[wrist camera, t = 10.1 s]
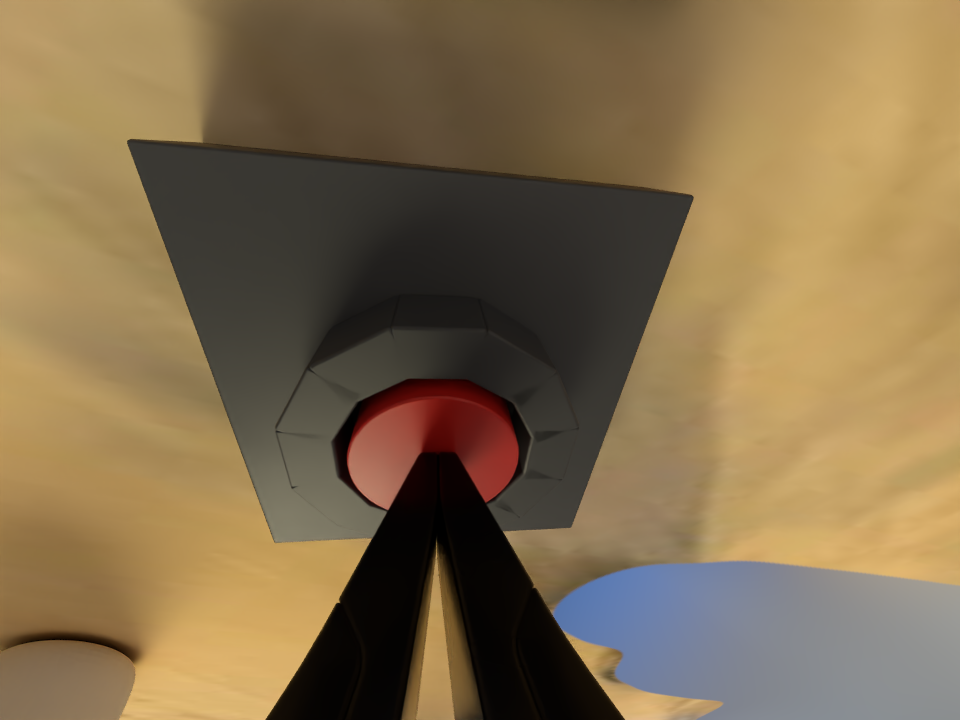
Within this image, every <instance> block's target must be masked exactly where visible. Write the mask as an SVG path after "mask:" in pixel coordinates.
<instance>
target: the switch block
mask: <svg viewBox="0 0 960 720" xmlns="http://www.w3.org/2000/svg"><path fill="white" fill-rule="evenodd" d="M127 144H128V146H129V149H130V152H131V155H132V157H133V160H134V163H135V165H136V168H137V171H138V174H139V176H140V179H141V182H142V184H143V187H144V190H145V193H146V195H147V198H148V201H149V203H150V206H151V209H152V211H153V214H154V217H155V220H156V222H157V225H158V228H159V230H160V233H161V236H162V239H163V241H164V244H165V247H166V249H167V252H168V255H169V258H170V260H171V263H172V266H173V268H174V271H175V274H176V277H177V279H178V282H179V285H180V287H181V290H182V293H183V296H184V298H185V301H186V304H187V306H188V309H189V312H190V315H191V317H192V320H193V323H194V325H195V328H196V331H197V334H198V336H199V339H200V342H201V344H202V347H203V350H204V353H205V355H206V358H207V361H208V363H209V366H210V369H211V372H212V374H213V377H214V380H215V382H216V385H217V388H218V391H219V393H220V396H221V399H222V401H223V404H224V407H225V410H226V412H227V415H228V418H229V420H230V423H231V426H232V428H233V431H234V434H235V437H236V439H237V442H238V445H239V447H240V450H241V453H242V456H243V458H244V461H245V464H246V466H247V469H248V472H249V475H250V477H251V480H252V483H253V485H254V488H255V491H256V494H257V496H258V499H259V502H260V504H261V507H262V510H263V513H264V515H265V518H266V521H267V523H268V526H269V529H270V532H271V534H272V537H273V540H274V542H275V543H282V542H301V541H321V540H340V539H360V538H373V536H374V534H375V533H376V531H377V529H378V527H379V525H380V524H381V522H382V520H383V518H384V516H385V515H386V513H387V511H388V510H387V509H385V508H382V507H380V506H378V505H377V504H375V503H373V502H372V501H370V500H369V499H368V498H367V497H365V496H364V495H363V494H362V493H361V492H360V491H359V490H358V489H357V487H356V486H355V484H354V483H353V481H352V479H351V476H350V474H349V470H348V466H347V452H348V447H349V443H350V440H351V437H352V433H353V430H354V427H355V423H356V420H357V417H358V413H359V410H360V407H361V403H362V400H363V399H366V398H368V397H370V396H372V395H374V394H376V393H379V392H381V391H383V390H385V389H387V388H389V387H392V386H394V385H396V384H398V383H400V382H402V381H405V380H407V379H467V380H469V381H471V382H473V383H475V384H477V385H479V386H481V387H483V388H485V389H486V390H488V391H490V392H492V393H494V394H496V395H498V396H500V397H502V398H504V399H506V403H507V406H508V410H509V413H510V417H511V420H512V424H513V427H514V431H515V434H516V438H517V442H518V446H519V458H518V464H517V467H516V470H515V472H514V475H513V477H512V478H511V480H510V481H509V483H508V484H507V485H506V486H505V488H504V489H503V490H502V491H501V492H500V493H498V494H497V495H496V496H495V497H493V498H492V499H491V500H489V501H488V502H486V504H487V506H488V507H489V509H490V511H491V512H492V514H493V516H494V517H495V519H496V521H497V523H498V524H499V526H500V528H501V529H502V531H517V530H536V529H556V528H571V526H572V524H573V521H574V518H575V516H576V513H577V510H578V508H579V505H580V502H581V500H582V497H583V494H584V492H585V489H586V486H587V483H588V481H589V478H590V475H591V473H592V470H593V467H594V465H595V462H596V459H597V457H598V454H599V451H600V449H601V446H602V443H603V441H604V438H605V435H606V432H607V430H608V427H609V424H610V422H611V419H612V416H613V414H614V411H615V408H616V406H617V403H618V400H619V398H620V395H621V392H622V389H623V387H624V384H625V381H626V379H627V376H628V373H629V371H630V368H631V365H632V363H633V360H634V357H635V355H636V352H637V349H638V346H639V344H640V341H641V338H642V336H643V333H644V330H645V328H646V325H647V322H648V320H649V317H650V314H651V312H652V309H653V306H654V303H655V301H656V298H657V295H658V293H659V290H660V287H661V285H662V282H663V279H664V277H665V274H666V271H667V269H668V266H669V263H670V260H671V258H672V255H673V252H674V250H675V247H676V244H677V242H678V239H679V236H680V234H681V231H682V228H683V226H684V223H685V220H686V217H687V215H688V212H689V209H690V207H691V204H692V201H693V198H694V197H693V196H692V195H689V194H683V193H676V192H670V191H664V190H657V189H651V188H644V187H635V186H625V185H615V184H605V183H596V182H586V181H576V180H566V179H556V178H546V177H536V176H526V175H516V174H506V173H496V172H486V171H476V170H466V169H456V168H447V167H437V166H427V165H417V164H407V163H397V162H387V161H377V160H367V159H357V158H347V157H337V156H327V155H317V154H308V153H298V152H288V151H278V150H268V149H258V148H248V147H238V146H228V145H218V144H208V143H196V142H177V141H158V140H139V139H130V140H128V141H127ZM436 541H437V539H436Z"/></svg>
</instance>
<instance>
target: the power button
mask: <svg viewBox="0 0 960 720" xmlns="http://www.w3.org/2000/svg"><path fill="white" fill-rule="evenodd" d="M422 452H436V453H437V454H439V453H440V452H455V453H457V455H458V456H459V458H460V460H461V461H462V463H463V465H464V466H465V468H466V470H467V472H468V473H469V475H470V477H471V478H472V480H473V482H474V483H475V485H476V487H477V489H478V490H479V492H480V494H481V495H482V497H483V499H484V500H485V502H488V501H489V500H491V499H492V498H493V497H495V496H496V495H497V494H498V493H500V492H501V491H502V490H503V489H504V488H505V486H506V485H507V484H508V483H509V481H510V480H511V478H512V477H513V475H514V472H515V470H516V467H517V464H518V458H519V446H518V442H517V438H516V434H515V431H514V427H513V424H512V420H511V417H510V413H509V410H508V406H507V403H506V399H504V398H502V397H500V396H498V395H496V394H494V393H492V392H490V391H488V390H486V389H485V388H483V387H481V386H479V385H477V384H475V383H473V382H471V381H469V380H467V379H407V380H405V381H402V382H400V383H398V384H396V385H394V386H392V387H389V388H387V389H385V390H383V391H381V392H379V393H376V394H374V395H372V396H370V397H368V398H366V399H363V400H362V403H361V407H360V410H359V413H358V417H357V420H356V423H355V427H354V430H353V433H352V437H351V440H350V443H349V447H348V452H347V466H348V470H349V474H350V476H351V479H352V481H353V483H354V484H355V486H356V487H357V489H358V490H359V491H360V492H361V493H362V494H363V495H364V496H365V497H367V498H368V499H369V500H370V501H372V502H373V503H375V504H377V505H378V506H380V507H382V508H385V509H387V510H388V509H389V507H390V505H391V504H392V502H393V500H394V498H395V496H396V495H397V493H398V491H399V489H400V487H401V486H402V484H403V482H404V480H405V478H406V477H407V475H408V473H409V471H410V469H411V467H412V466H413V464H414V462H415V460H416V458H417V457H418V455H419V454H420V453H422Z"/></svg>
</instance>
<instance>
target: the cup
mask: <svg viewBox="0 0 960 720" xmlns="http://www.w3.org/2000/svg"><path fill="white" fill-rule="evenodd" d="M134 680H135V667H134V665H133V663H132V661H131V660H130V659H129V658H128V657H127V656H125V655H124V654H123V653H121V652H119V651H117V650H115V649H112V648H109V647H106V646H103V645H99V644H94V643H89V642H83V641H72V640H46V641H36V642H29V643H25V644H20V645H17V646H14V647H11V648H8V649H6V650H3V651H1V652H0V720H119V718H120V716H121V714H122V712H123V710H124V708H125V705H126V703H127V701H128V698H129V696H130V693H131V691H132V688H133V684H134Z"/></svg>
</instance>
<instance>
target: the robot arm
mask: <svg viewBox="0 0 960 720" xmlns="http://www.w3.org/2000/svg"><path fill="white" fill-rule="evenodd" d="M436 539H437V560H438V570H439V579H440V588H441V597H442V606H443V616H444V625H445V634H446V643H447V652H448V661H449V670H450V680H451V689H452V698H453V707H454V716H455V720H625V719H624V718H623V716H622V715H621V714H620V712H619V711H618V709H617V708H616V707H615V705H614V704H613V703H612V701H611V700H610V698H609V697H608V696H607V694H606V693H605V692H604V690H603V689H602V687H601V686H600V685H599V683H598V682H597V681H596V679H595V678H594V676H593V675H592V674H591V672H590V671H589V669H588V668H587V667H586V665H585V664H584V662H583V661H582V659H581V658H580V656H579V655H578V654H577V652H576V651H575V649H574V648H573V646H572V645H571V643H570V642H569V641H568V639H567V638H566V636H565V634H564V633H563V631H562V630H561V628H560V626H559V625H558V623H557V622H556V620H555V618H554V617H553V615H552V614H551V612H550V610H549V609H548V607H547V605H546V604H545V602H544V600H543V599H542V597H541V595H540V594H539V592H538V590H537V589H536V588H533V586H534V584H533V582H532V580H531V579H530V577H529V575H528V574H527V572H526V570H525V568H524V567H523V565H522V563H521V562H520V560H519V558H518V557H517V555H516V553H515V551H514V550H513V548H512V546H511V545H510V543H509V541H508V540H507V538H506V536H505V534H504V533H503V531H502V529H501V528H500V526H499V524H498V523H497V521H496V519H495V517H494V516H493V514H492V512H491V511H490V509H489V507H488V506H487V504H486V502H485V500H484V499H483V497H482V495H481V494H480V492H479V490H478V489H477V487H476V485H475V483H474V482H473V480H472V478H471V477H470V475H469V473H468V472H467V470H466V468H465V466H464V465H463V463H462V461H461V460H460V458H459V456H458V455H457V453H455V452H440V453H439V454H437V453H436V452H422V453H420V454H419V455H418V457H417V458H416V460H415V462H414V464H413V466H412V467H411V469H410V471H409V473H408V475H407V477H406V478H405V480H404V482H403V484H402V486H401V487H400V489H399V491H398V493H397V495H396V496H395V498H394V500H393V502H392V504H391V505H390V507H389V509H388V511H387V513H386V515H385V516H384V518H383V520H382V522H381V524H380V525H379V527H378V529H377V531H376V533H375V534H374V536H373V538H372V540H371V542H370V543H369V545H368V547H367V549H366V551H365V553H364V554H363V556H362V558H361V560H360V562H359V563H358V565H357V567H356V569H355V571H354V572H353V574H352V576H351V578H350V580H349V582H348V583H347V585H346V587H345V589H344V591H343V592H342V594H341V596H340V598H339V602H340V603H337V604H336V605H335V606H334V608H333V610H332V612H331V614H330V615H329V617H328V619H327V621H326V623H325V625H324V626H323V628H322V630H321V632H320V633H319V635H318V637H317V638H316V640H315V642H314V643H313V645H312V647H311V649H310V650H309V652H308V654H307V655H306V657H305V659H304V661H303V662H302V664H301V666H300V667H299V669H298V670H297V672H296V673H295V675H294V677H293V678H292V680H291V681H290V683H289V684H288V686H287V687H286V689H285V691H284V692H283V694H282V695H281V697H280V698H279V700H278V701H277V703H276V705H275V706H274V708H273V709H272V711H271V712H270V714H269V715H268V717H267V718H266V720H416V716H417V708H418V699H419V691H420V683H421V674H422V666H423V658H424V650H425V641H426V633H427V625H428V616H429V608H430V600H431V592H432V583H433V575H434V567H435V557H436Z"/></svg>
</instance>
